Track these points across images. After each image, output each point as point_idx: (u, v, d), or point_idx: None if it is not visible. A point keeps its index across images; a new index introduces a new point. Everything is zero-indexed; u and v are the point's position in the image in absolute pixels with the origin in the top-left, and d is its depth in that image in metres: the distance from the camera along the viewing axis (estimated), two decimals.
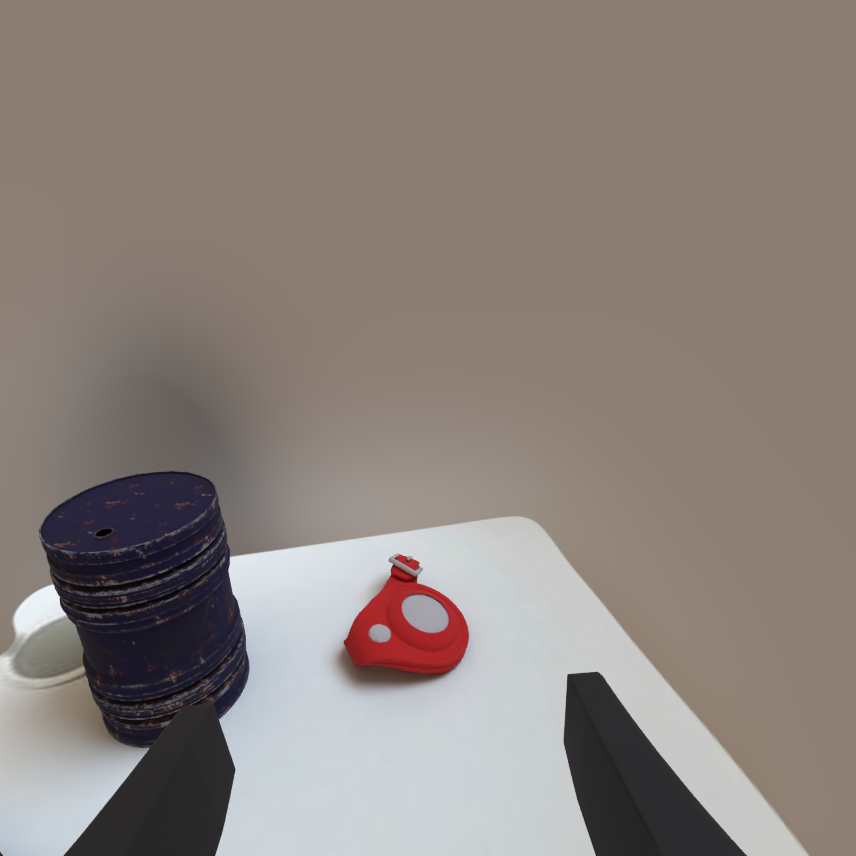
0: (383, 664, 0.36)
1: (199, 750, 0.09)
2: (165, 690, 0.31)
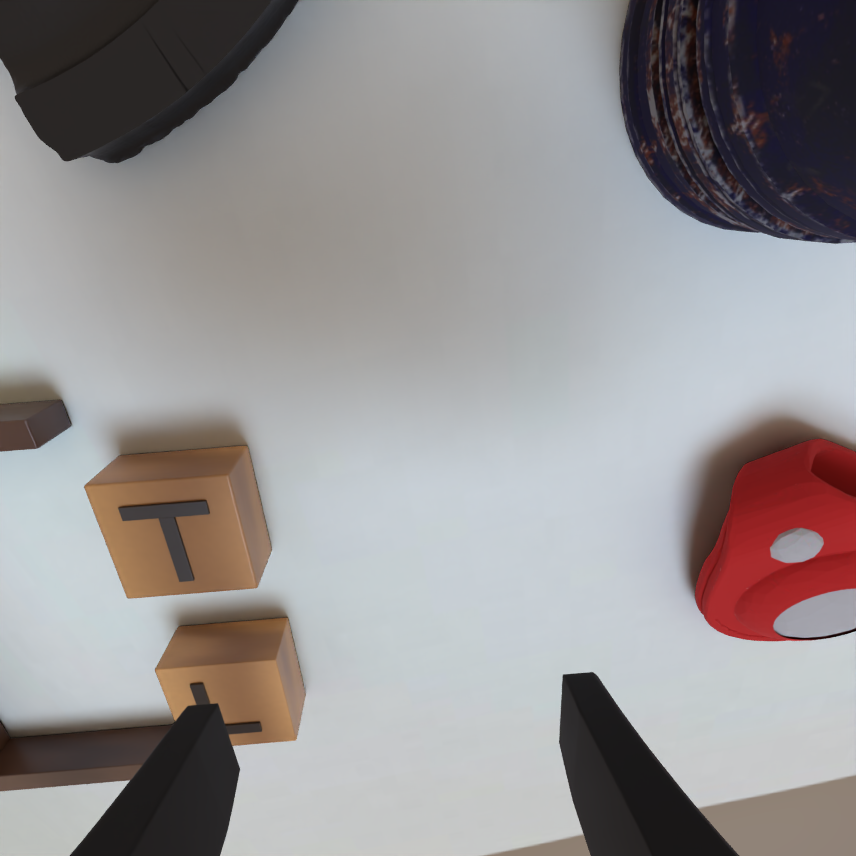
0: (721, 539, 0.18)
1: (204, 750, 0.09)
2: (712, 103, 0.11)
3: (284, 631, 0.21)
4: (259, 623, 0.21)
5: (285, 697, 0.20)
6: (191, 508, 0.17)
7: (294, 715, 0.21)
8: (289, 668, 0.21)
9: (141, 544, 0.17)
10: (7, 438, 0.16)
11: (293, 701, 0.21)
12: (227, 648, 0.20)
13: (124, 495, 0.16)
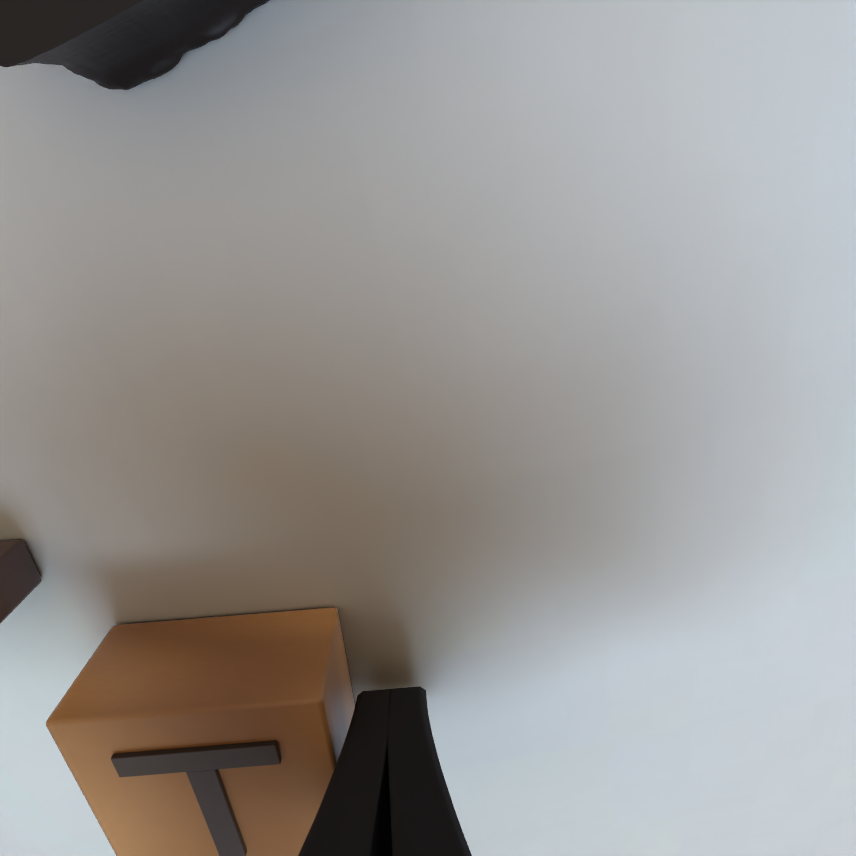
0: None
1: None
2: None
3: None
4: None
5: None
6: (247, 753, 0.09)
7: None
8: None
9: (154, 806, 0.09)
10: None
11: None
12: None
13: (122, 736, 0.09)
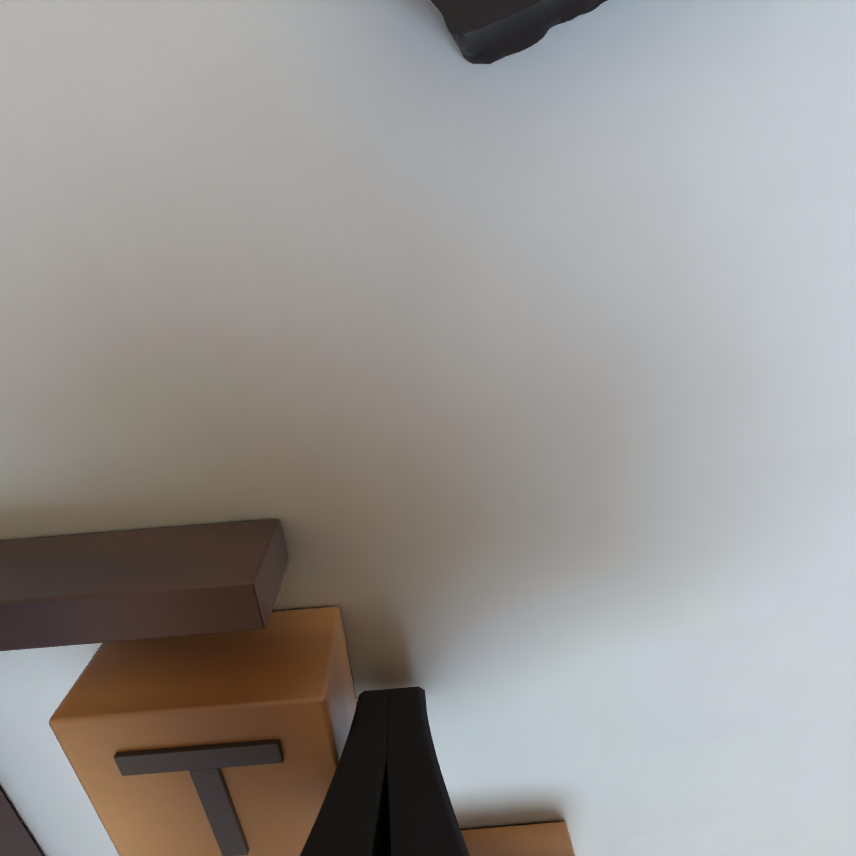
0: None
1: None
2: None
3: None
4: (525, 834, 0.14)
5: None
6: (250, 752, 0.09)
7: None
8: None
9: (156, 805, 0.09)
10: (212, 614, 0.08)
11: None
12: None
13: (125, 735, 0.09)
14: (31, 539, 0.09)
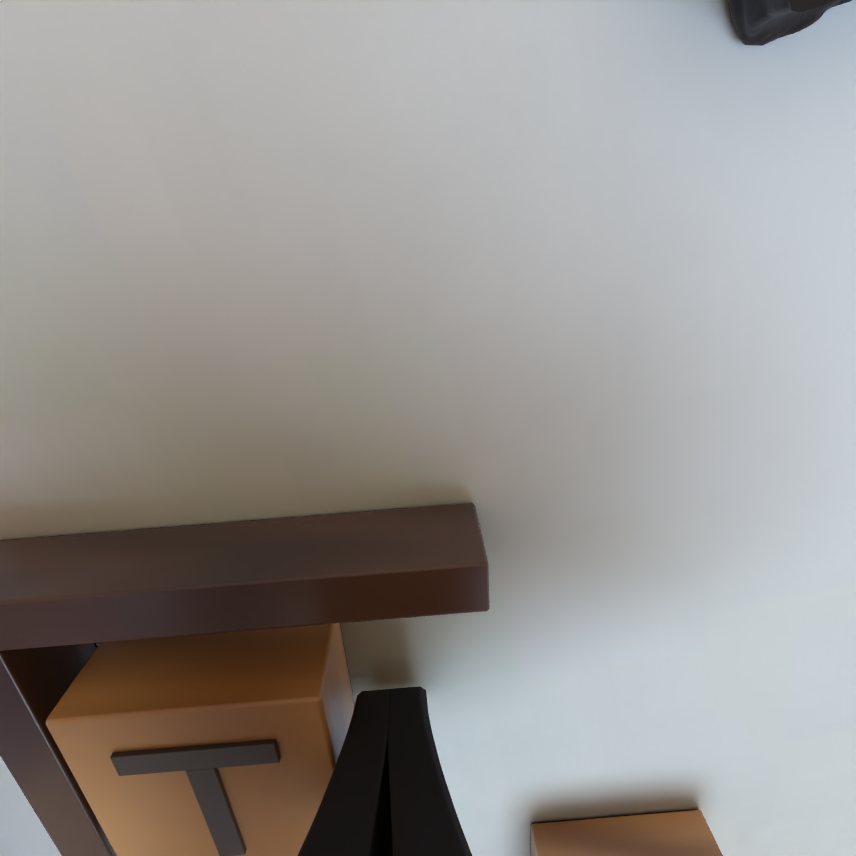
0: None
1: None
2: None
3: (715, 841, 0.13)
4: (662, 822, 0.14)
5: None
6: (247, 752, 0.09)
7: None
8: None
9: (153, 805, 0.09)
10: (441, 595, 0.08)
11: None
12: None
13: (122, 735, 0.09)
14: (229, 523, 0.10)
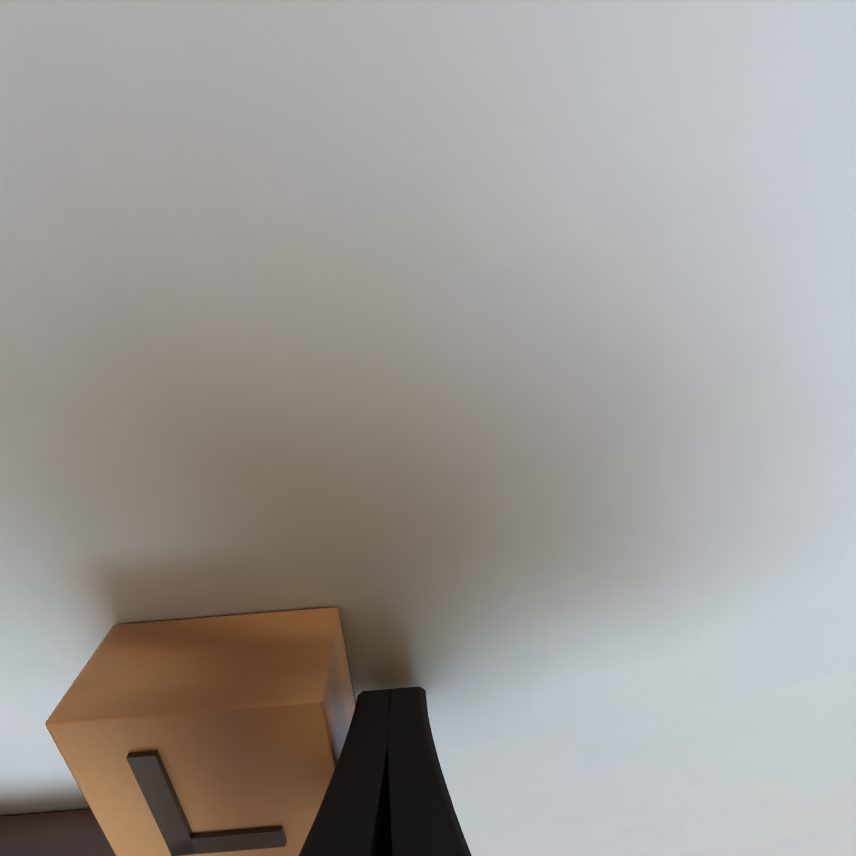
0: None
1: None
2: None
3: (333, 635, 0.10)
4: (280, 619, 0.10)
5: None
6: None
7: None
8: (342, 712, 0.10)
9: None
10: None
11: None
12: (211, 673, 0.09)
13: None
14: None
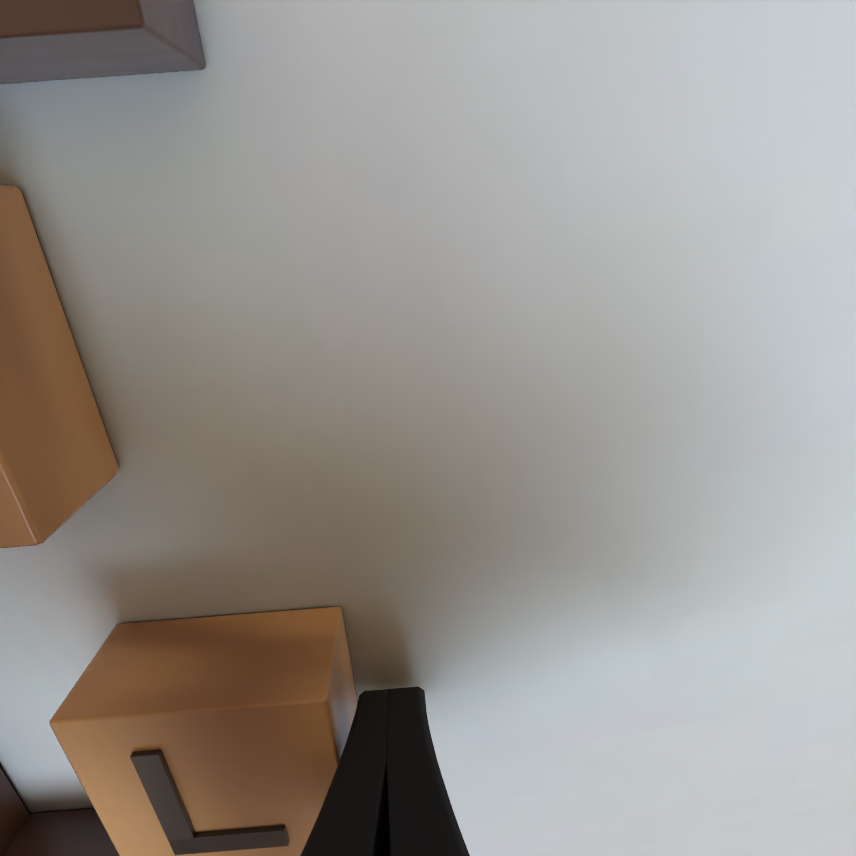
0: None
1: None
2: None
3: (337, 635, 0.10)
4: (283, 618, 0.10)
5: None
6: None
7: None
8: (346, 712, 0.10)
9: None
10: None
11: None
12: (215, 672, 0.09)
13: None
14: None
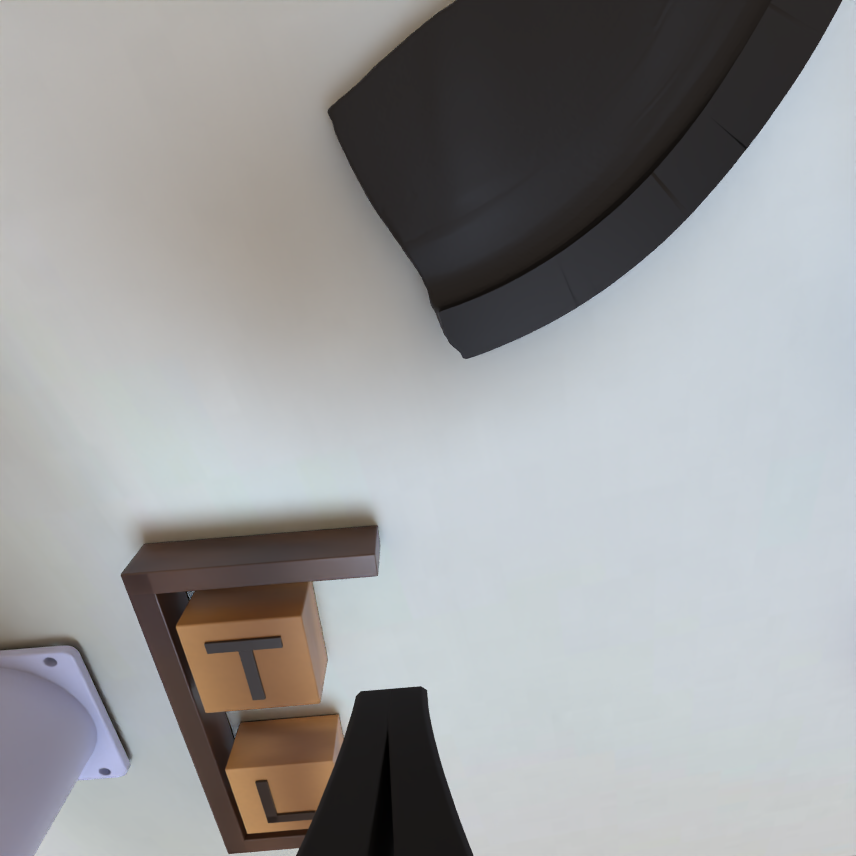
0: None
1: None
2: None
3: (337, 729, 0.23)
4: (313, 720, 0.24)
5: None
6: (267, 642, 0.19)
7: None
8: None
9: (221, 671, 0.19)
10: (355, 568, 0.18)
11: None
12: (287, 748, 0.22)
13: (210, 633, 0.19)
14: (258, 535, 0.20)
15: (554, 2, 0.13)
